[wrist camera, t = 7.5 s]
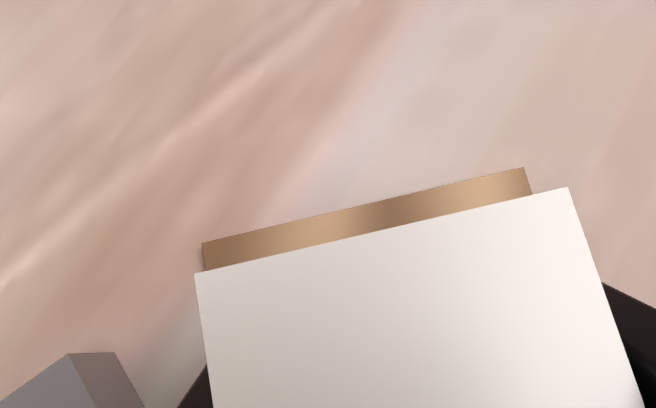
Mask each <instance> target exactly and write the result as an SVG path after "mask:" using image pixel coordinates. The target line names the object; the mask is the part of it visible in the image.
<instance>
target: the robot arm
mask: <svg viewBox="0 0 656 408" xmlns="http://www.w3.org/2000/svg"><path fill="white" fill-rule="evenodd" d="M601 284H602V287H603V289H604V292H605V295H606V298H607V301H608V304H609V306H610V309H611V312H612V315H613V318H614V321H615V323H616V326H617V329H618V332H619V335H620V338H621V340H622V343H623V346H624V349H625V352H626V355H627V358H628V360H629V363H630V366H631V369H632V372H633V375H634V377H635V380H636V383H637V386H638V389H639V392H640V394H641V397H642V400H643V403H644V406H645V408H656V309H655V308H653V307H651V306H649V305H647V304H645V303H643V302H641V301H639V300H637V299H635V298H633V297H631V296H629V295H627V294H625V293H623V292H621V291H619V290H617V289H615V288H613V287H611V286H609V285H607V284H605V283H603V282H601ZM177 408H213V401H212V394H211V387H210V381H209V374H208V367H207V365H206V366H205V368H204V369H203V370H202V372H201V373H200V375H199V376H198V378H197V379H196V381H195V382H194V384H193V385H192V386H191V388H190V389H189V391H188V392H187V394H186V395H185V397H184V398H183V400H182V401H181V402H180V404H179V405H178V407H177Z"/></svg>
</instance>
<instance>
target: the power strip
mask: <svg viewBox="0 0 656 408" xmlns="http://www.w3.org/2000/svg"><path fill="white" fill-rule="evenodd" d="M0 408H144V406H143V404H142V402H141V401H140V399H139V397H138V395H137V393H136V392H135V390H134V388H133V386H132V384H131V383H130V381H129V379H128V377H127V375H126V374H125V372H124V370H123V368H122V366H121V365H120V363H119V361H118V359H117V358H116V356H115V354H114V353H78V354H67V355H65V356H64V357H63V358H61V359H60V360H58V361H57V362H56V363H54V364H53V365H51V366H50V367H49V368H47V369H46V370H44V371H43V372H41V373H40V374H39V375H37V376H36V377H34V378H33V379H32V380H30V381H29V382H27V383H26V384H25V385H23V386H22V387H20V388H19V389H17V390H16V391H15V392H13V393H12V394H10V395H9V396H8V397H6V398H5V399H3V400H2V401H1V402H0Z"/></svg>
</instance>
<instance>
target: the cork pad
mask: <svg viewBox="0 0 656 408" xmlns="http://www.w3.org/2000/svg"><path fill="white" fill-rule="evenodd" d="M530 195H532V192H531V189H530V186H529V183H528V179H527V176H526V173H525V170H524V167H522V168H518V169H514V170H509V171H505V172H501V173H497V174H492V175H488V176H484V177H480V178H475V179H471V180H467V181H463V182H458V183H454V184H450V185H446V186H442V187H437V188H433V189H429V190H425V191H420V192H416V193H412V194H408V195H403V196H399V197H395V198H391V199H386V200H382V201H378V202H374V203H370V204H365V205H361V206H357V207H353V208H348V209H344V210H340V211H336V212H331V213H327V214H323V215H319V216H315V217H310V218H306V219H302V220H298V221H293V222H289V223H285V224H281V225H276V226H272V227H268V228H264V229H259V230H255V231H251V232H247V233H243V234H238V235H234V236H230V237H226V238H221V239H217V240H213V241H209V242H204V243H202V249H203V256H204V262H205V269H206V271H209V270H213V269H217V268H221V267H226V266H230V265H234V264H239V263H243V262H247V261H251V260H256V259H260V258H264V257H269V256H273V255H277V254H281V253H286V252H290V251H294V250H299V249H303V248H307V247H311V246H316V245H320V244H324V243H329V242H333V241H337V240H341V239H346V238H350V237H354V236H358V235H363V234H367V233H371V232H376V231H380V230H384V229H388V228H393V227H397V226H401V225H406V224H410V223H414V222H418V221H423V220H427V219H431V218H436V217H440V216H444V215H448V214H453V213H457V212H461V211H466V210H470V209H474V208H478V207H483V206H487V205H491V204H496V203H500V202H504V201H508V200H513V199H517V198H521V197H526V196H530Z"/></svg>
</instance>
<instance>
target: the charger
mask: <svg viewBox="0 0 656 408" xmlns="http://www.w3.org/2000/svg"><path fill="white" fill-rule="evenodd" d="M194 279H195V286H196V292H197V299H198V306H199V313H200V319H201V326H202V333H203V340H204V347H205V353H206V360H207V367H208V374H209V381H210V387H211V394H212V401H213V408H645V406H644V403H643V400H642V397H641V394H640V392H639V389H638V386H637V383H636V380H635V377H634V375H633V372H632V369H631V366H630V363H629V360H628V358H627V355H626V352H625V349H624V346H623V343H622V340H621V338H620V335H619V332H618V329H617V326H616V323H615V321H614V318H613V315H612V312H611V309H610V306H609V304H608V301H607V298H606V295H605V292H604V289H603V287H602V284H601V281H600V278H599V275H598V272H597V270H596V267H595V264H594V261H593V258H592V255H591V253H590V250H589V247H588V244H587V241H586V238H585V236H584V233H583V230H582V227H581V224H580V221H579V219H578V216H577V213H576V210H575V207H574V204H573V202H572V199H571V196H570V193H569V190H568V187H564V188H560V189H556V190H551V191H547V192H543V193H538V194H534V195H530V196H526V197H521V198H517V199H513V200H508V201H504V202H500V203H496V204H491V205H487V206H483V207H478V208H474V209H470V210H466V211H461V212H457V213H453V214H448V215H444V216H440V217H436V218H431V219H427V220H423V221H418V222H414V223H410V224H406V225H401V226H397V227H393V228H388V229H384V230H380V231H376V232H371V233H367V234H363V235H358V236H354V237H350V238H346V239H341V240H337V241H333V242H329V243H324V244H320V245H316V246H311V247H307V248H303V249H299V250H294V251H290V252H286V253H281V254H277V255H273V256H269V257H264V258H260V259H256V260H251V261H247V262H243V263H239V264H234V265H230V266H226V267H221V268H217V269H213V270H209V271H204V272H200V273H196V274H194Z"/></svg>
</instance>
